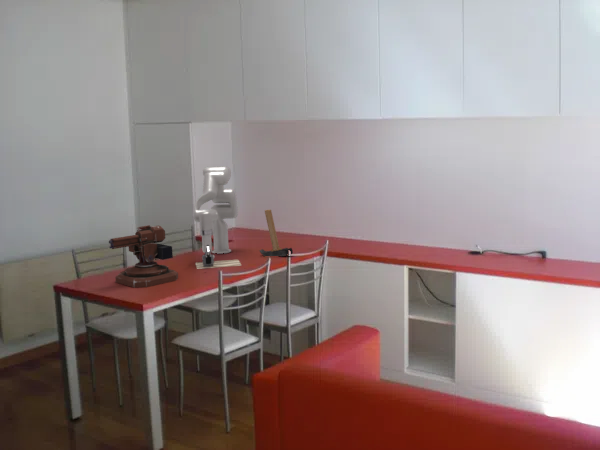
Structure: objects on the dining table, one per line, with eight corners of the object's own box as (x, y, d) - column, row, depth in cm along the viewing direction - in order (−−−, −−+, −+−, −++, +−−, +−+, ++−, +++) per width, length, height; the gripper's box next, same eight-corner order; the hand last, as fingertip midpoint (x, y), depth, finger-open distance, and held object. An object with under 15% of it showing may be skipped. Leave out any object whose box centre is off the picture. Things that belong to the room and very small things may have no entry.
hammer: (261, 259, 441) (251, 213, 438) (264, 258, 446) (254, 212, 443) (290, 255, 434) (280, 207, 431) (293, 253, 439) (283, 206, 436)
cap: (202, 262, 414) (201, 254, 414) (214, 261, 416) (213, 253, 415) (203, 264, 408) (202, 256, 407) (215, 264, 409) (214, 256, 409)
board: (195, 264, 422) (194, 254, 421) (238, 261, 427) (237, 251, 427) (197, 270, 405) (196, 260, 404) (241, 267, 410) (241, 257, 409)
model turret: (100, 283, 381) (95, 229, 377) (154, 272, 405) (151, 221, 401) (127, 291, 361) (122, 234, 357) (183, 279, 386) (179, 225, 381)
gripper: (199, 230, 417) (200, 260, 419) (201, 235, 400) (202, 265, 402) (211, 229, 418) (213, 259, 421) (214, 234, 401) (215, 264, 404)
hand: (208, 262), depth 412 cm, fingers closed on cap, 6 cm apart
